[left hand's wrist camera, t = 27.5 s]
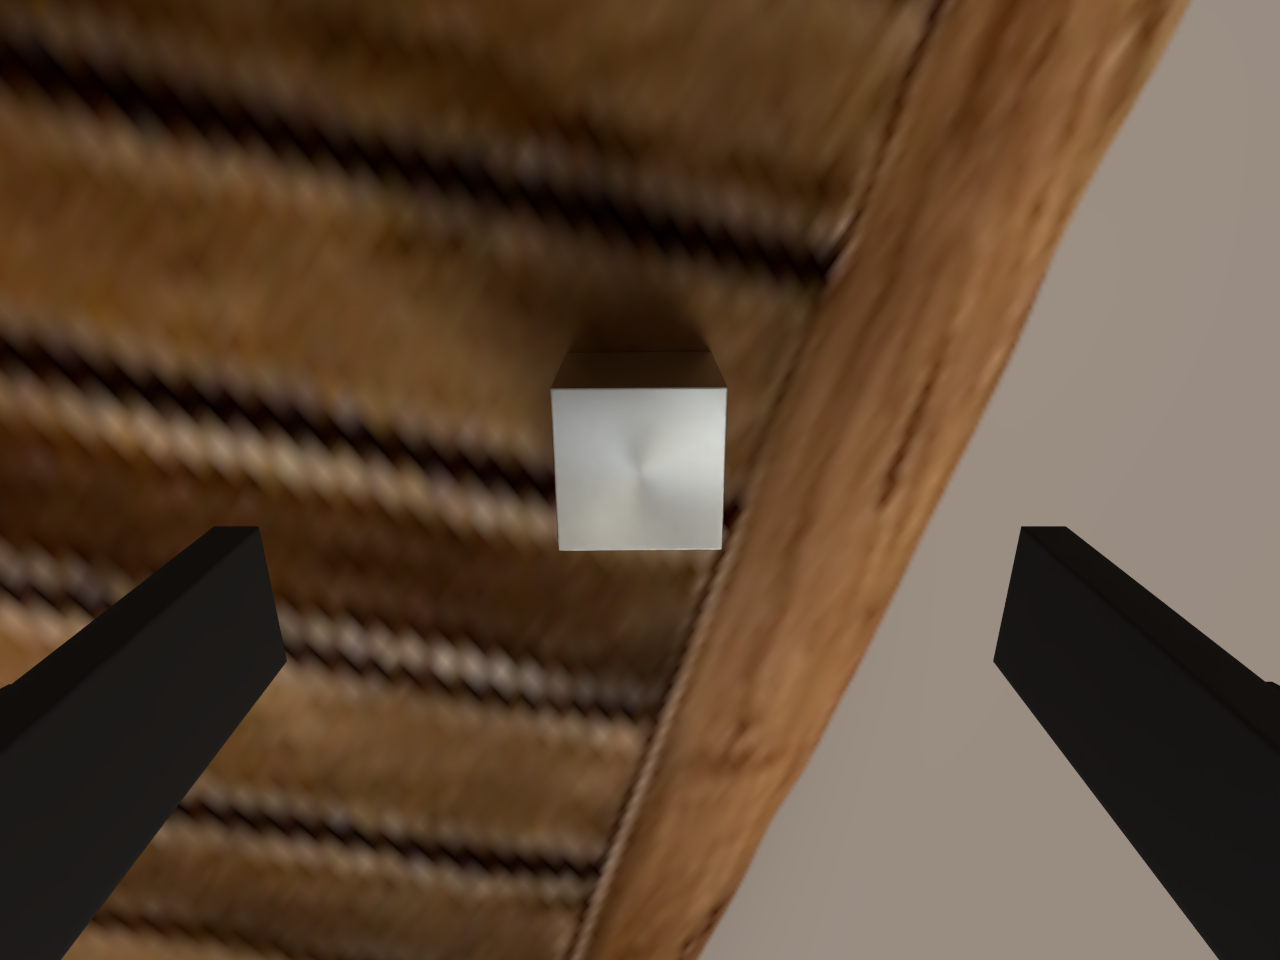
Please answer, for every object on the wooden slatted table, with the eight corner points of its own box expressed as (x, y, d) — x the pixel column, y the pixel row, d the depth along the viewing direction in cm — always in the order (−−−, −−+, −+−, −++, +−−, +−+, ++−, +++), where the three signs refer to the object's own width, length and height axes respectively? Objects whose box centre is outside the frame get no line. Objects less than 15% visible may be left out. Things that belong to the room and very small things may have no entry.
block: (572, 489, 24) (558, 551, 20) (566, 352, 23) (549, 388, 18) (707, 488, 24) (722, 550, 20) (711, 351, 23) (728, 387, 18)
